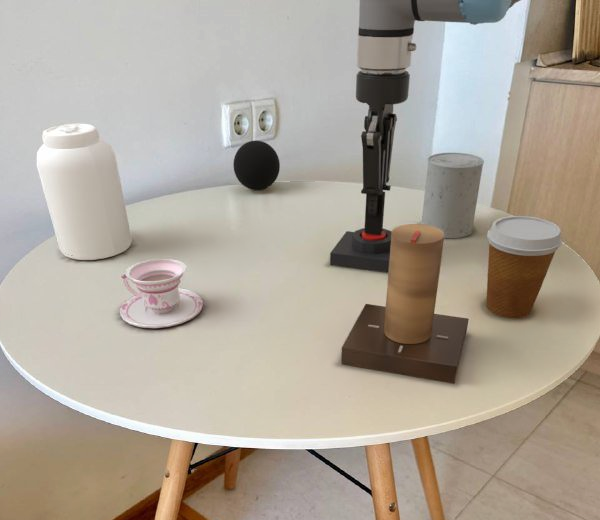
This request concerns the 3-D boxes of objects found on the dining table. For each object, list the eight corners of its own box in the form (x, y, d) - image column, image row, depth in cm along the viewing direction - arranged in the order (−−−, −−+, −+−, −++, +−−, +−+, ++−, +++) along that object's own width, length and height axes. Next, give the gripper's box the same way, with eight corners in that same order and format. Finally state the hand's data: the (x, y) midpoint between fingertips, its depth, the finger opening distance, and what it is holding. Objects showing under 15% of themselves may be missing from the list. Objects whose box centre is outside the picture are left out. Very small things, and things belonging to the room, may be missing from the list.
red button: (387, 240, 100) (388, 230, 99) (382, 249, 97) (383, 239, 96) (364, 238, 101) (365, 228, 100) (358, 246, 98) (358, 236, 97)
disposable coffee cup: (469, 318, 83) (484, 235, 76) (479, 289, 90) (493, 211, 83) (541, 329, 80) (563, 245, 73) (545, 299, 87) (566, 219, 80)
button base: (413, 250, 102) (415, 228, 100) (401, 274, 95) (403, 250, 92) (346, 242, 106) (346, 221, 103) (329, 265, 98) (330, 242, 96)
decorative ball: (289, 188, 131) (288, 140, 125) (255, 199, 125) (252, 149, 119) (260, 179, 137) (257, 133, 131) (226, 189, 131) (221, 141, 125)
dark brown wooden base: (466, 334, 79) (469, 317, 78) (454, 383, 70) (457, 365, 69) (364, 319, 83) (365, 302, 82) (341, 364, 74) (341, 346, 73)
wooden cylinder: (389, 317, 78) (397, 218, 70) (435, 324, 77) (448, 224, 69) (378, 339, 74) (386, 237, 66) (426, 347, 72) (440, 243, 64)
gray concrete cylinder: (441, 215, 116) (449, 149, 108) (483, 228, 110) (495, 159, 102) (409, 228, 110) (416, 160, 103) (452, 242, 105) (462, 171, 97)
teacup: (207, 289, 92) (202, 252, 88) (198, 328, 82) (192, 288, 78) (129, 291, 91) (122, 254, 88) (111, 331, 82) (102, 290, 78)
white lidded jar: (55, 242, 108) (22, 124, 96) (123, 230, 112) (100, 115, 100) (67, 267, 99) (32, 141, 87) (140, 252, 103) (117, 130, 91)
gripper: (400, 78, 77) (387, 249, 92) (418, 64, 87) (403, 220, 101) (345, 76, 79) (340, 244, 94) (368, 62, 89) (361, 216, 103)
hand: (373, 232), depth 97 cm, fingers closed
